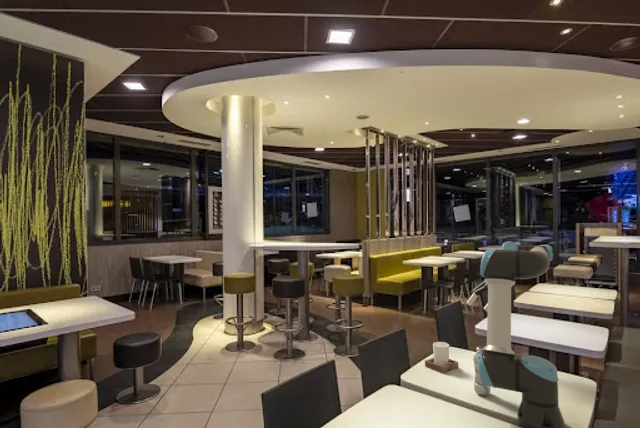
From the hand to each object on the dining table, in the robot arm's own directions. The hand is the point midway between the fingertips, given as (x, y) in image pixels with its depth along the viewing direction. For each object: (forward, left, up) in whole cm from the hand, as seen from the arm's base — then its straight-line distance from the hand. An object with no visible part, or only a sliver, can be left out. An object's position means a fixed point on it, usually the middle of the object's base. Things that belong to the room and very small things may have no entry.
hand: (476, 307), depth 194 cm
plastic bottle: (-26, -19, -30) cm, 44 cm away
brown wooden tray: (-16, +10, -30) cm, 35 cm away
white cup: (-16, +10, -28) cm, 34 cm away
